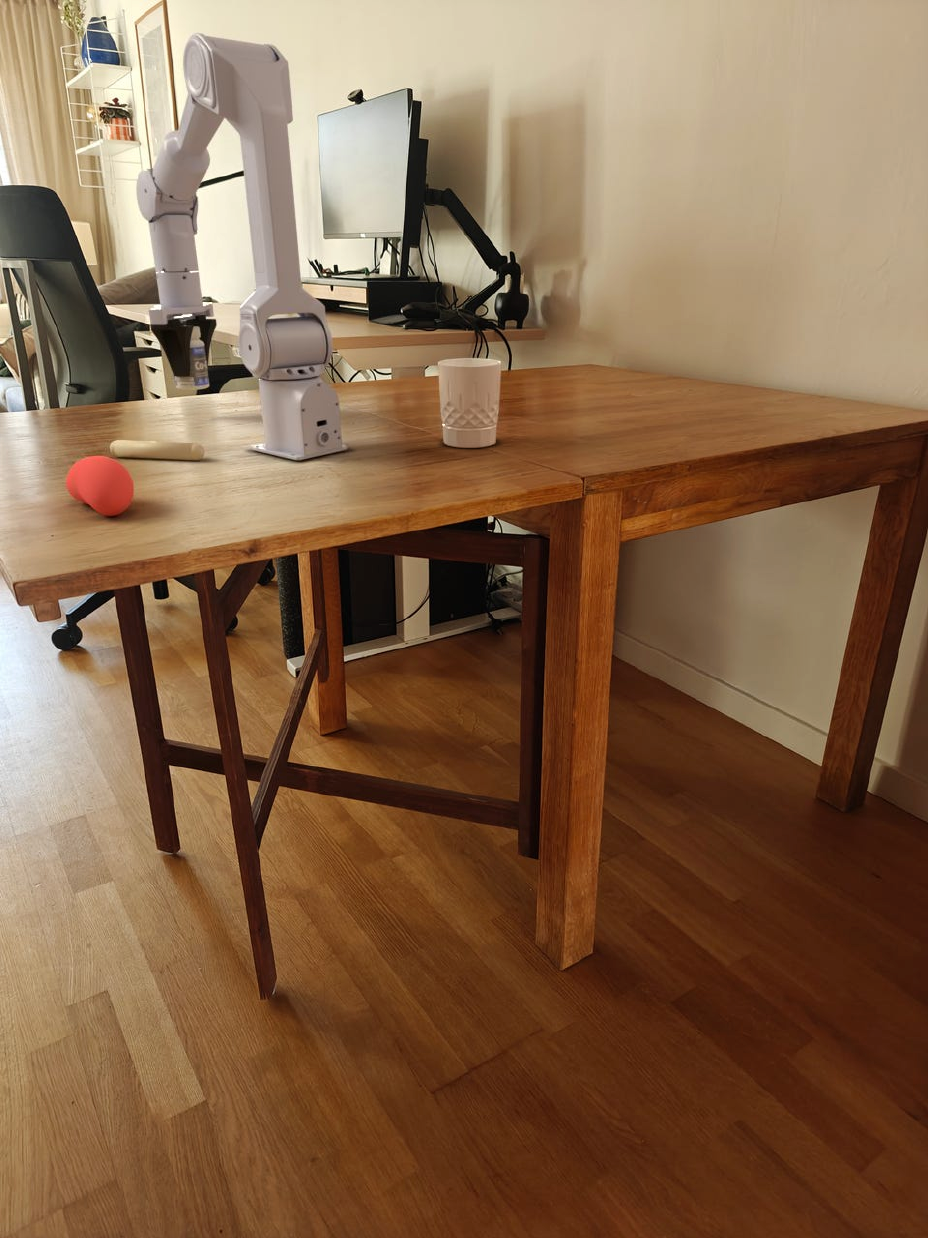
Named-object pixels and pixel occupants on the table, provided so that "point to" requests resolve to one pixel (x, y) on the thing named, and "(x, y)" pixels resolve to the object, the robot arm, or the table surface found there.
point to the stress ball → (101, 484)
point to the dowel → (157, 450)
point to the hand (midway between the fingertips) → (191, 373)
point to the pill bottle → (195, 365)
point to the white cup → (469, 401)
